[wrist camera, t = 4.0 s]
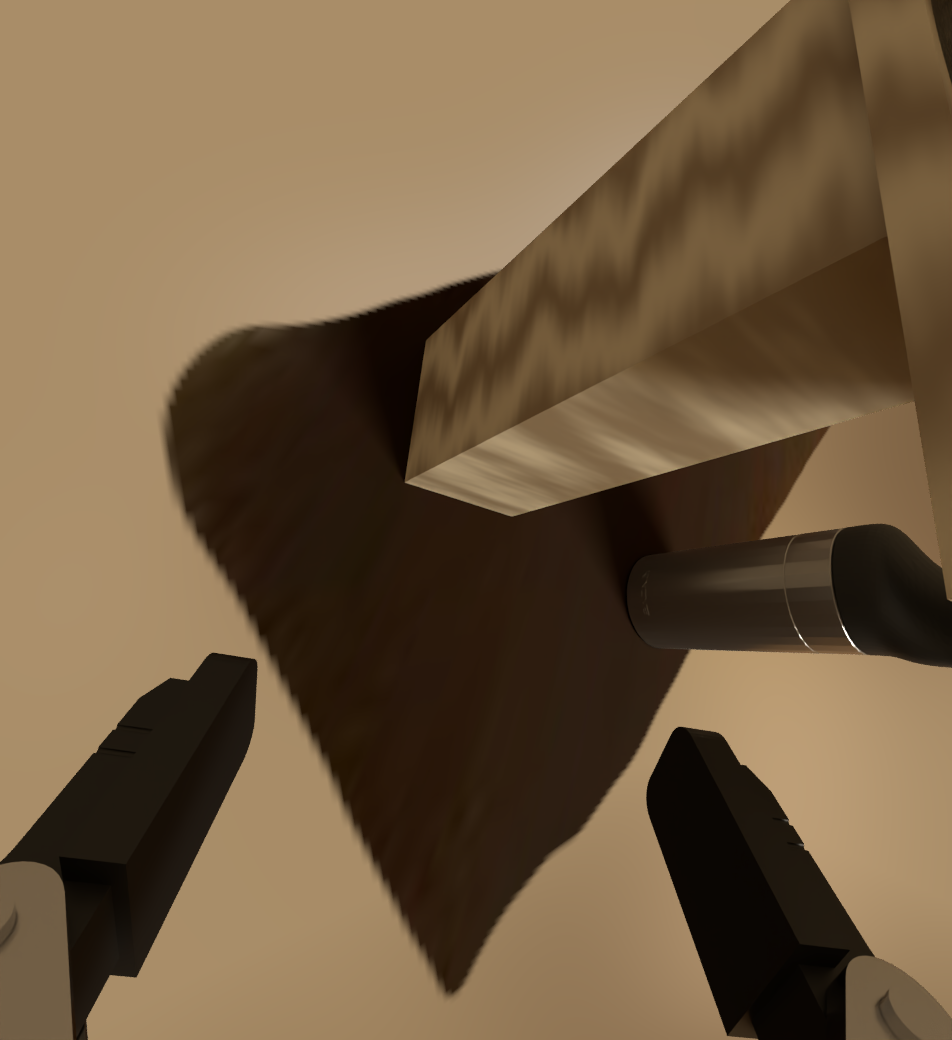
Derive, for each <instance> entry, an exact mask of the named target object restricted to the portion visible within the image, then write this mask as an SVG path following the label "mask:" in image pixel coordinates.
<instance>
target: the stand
mask: <svg viewBox="0 0 952 1040" xmlns="http://www.w3.org/2000/svg"><path fill="white" fill-rule="evenodd" d="M913 401H915V406H916V412H917V418H918V424H919V430H920V437H921V443H922V448H923V455H924V461H925V467H926V473H927V479H928V485H929V491H930V497H931V504H932V509H933V515H934V522H935V528H936V534H937V540H938V546H939V552H940V558H941V564H942V570H943V577H944V583H945V589H946V595H947V599H948V600H950V601H952V84H951V80H950V77H949V73H948V70H947V66H946V63H945V59H944V55H943V52H942V48H941V44H940V40H939V36H938V32H937V28H936V24H935V19H934V15H933V10H932V4H931V0H790V1H789V2H788V3H787V4H786V5H785V6H784V7H783V8H782V9H781V10H780V11H779V12H777V13H776V14H775V15H774V16H773V17H772V18H771V19H770V20H769V21H768V22H767V23H766V24H765V25H763V26H762V27H761V28H760V29H759V30H758V31H757V32H756V33H755V34H754V35H753V36H752V37H751V38H750V39H748V41H746V42H745V43H744V44H743V45H742V46H741V47H740V48H739V49H738V50H737V51H736V52H735V53H734V54H733V55H732V56H730V57H729V58H728V59H727V60H726V61H725V62H724V63H723V64H722V65H721V66H720V67H718V68H717V69H716V70H715V71H714V72H713V73H712V74H711V75H710V76H709V77H708V78H707V79H706V80H705V81H703V82H702V83H701V84H700V85H699V86H698V87H697V88H696V89H695V90H694V91H693V92H692V93H691V94H690V95H688V97H687V98H685V99H684V100H683V101H682V102H681V103H680V104H679V105H678V106H677V107H676V108H675V109H674V110H673V111H671V112H670V113H669V114H668V115H667V116H666V117H665V118H664V119H663V120H662V121H661V122H660V123H659V124H658V125H656V126H655V127H654V128H653V129H652V130H651V131H650V132H649V133H648V134H647V135H646V136H645V137H644V138H643V139H641V140H640V141H639V142H638V143H637V144H636V145H635V146H634V147H633V148H632V149H631V150H630V151H629V152H627V153H626V154H625V155H624V156H623V157H622V158H621V159H620V160H619V161H618V162H617V163H616V164H615V165H613V166H612V167H611V168H610V169H609V170H608V171H607V172H606V173H605V174H604V175H603V176H602V177H601V178H600V179H599V180H597V181H596V182H595V183H594V184H593V185H592V186H591V187H590V188H589V189H588V190H587V191H586V192H585V193H583V195H581V196H580V197H579V198H578V199H577V200H576V201H575V202H574V203H573V204H572V205H571V206H570V207H568V208H567V209H566V210H565V211H564V212H563V213H562V214H561V215H560V216H559V217H558V218H557V219H556V220H555V221H553V222H552V224H550V225H549V226H548V227H547V228H546V229H545V230H544V231H543V232H542V233H541V234H540V235H538V236H537V237H536V238H535V239H534V240H533V241H532V242H531V243H530V244H529V245H528V246H527V247H526V248H525V249H524V250H522V251H521V252H520V253H519V254H518V255H517V256H516V257H515V258H514V259H513V260H512V261H511V262H510V263H508V264H507V265H506V266H505V267H504V268H503V269H502V270H501V271H500V272H499V273H498V274H497V275H496V276H495V277H493V278H492V279H491V280H490V281H489V282H488V283H487V284H486V285H485V286H484V287H483V288H482V289H481V290H480V291H478V292H477V293H476V294H475V295H474V296H473V297H472V298H471V299H470V300H469V301H468V302H467V303H466V304H465V305H463V306H462V307H461V308H460V309H459V310H458V311H457V312H456V313H455V314H454V315H453V316H452V317H451V318H450V319H448V320H447V321H446V322H445V323H444V324H443V325H442V326H441V327H440V328H439V329H438V330H437V331H436V332H435V333H433V334H432V335H431V336H430V337H429V338H428V339H427V340H426V344H425V351H424V357H423V364H422V371H421V377H420V384H419V391H418V397H417V404H416V410H415V417H414V424H413V430H412V437H411V443H410V450H409V457H408V463H407V470H406V476H405V483H408V484H411V485H415V486H418V487H421V488H424V489H427V490H430V491H433V492H437V493H440V494H443V495H446V496H449V497H452V498H455V499H459V500H462V501H465V502H468V503H471V504H474V505H477V506H481V507H484V508H487V509H490V510H493V511H496V512H499V513H503V514H506V515H509V516H515V515H519V514H522V513H526V512H529V511H533V510H536V509H540V508H543V507H547V506H550V505H554V504H557V503H561V502H564V501H568V500H571V499H575V498H578V497H582V496H585V495H589V494H592V493H596V492H599V491H603V490H606V489H610V488H613V487H617V486H620V485H624V484H627V483H631V482H634V481H638V480H641V479H645V478H648V477H652V476H655V475H659V474H662V473H666V472H669V471H673V470H676V469H680V468H683V467H686V466H690V465H693V464H697V463H700V462H704V461H707V460H711V459H714V458H718V457H721V456H725V455H728V454H732V453H735V452H739V451H742V450H746V449H749V448H753V447H756V446H760V445H763V444H767V443H770V442H774V441H777V440H781V439H784V438H788V437H791V436H795V435H798V434H802V433H805V432H809V431H812V430H816V429H819V428H823V427H826V426H830V425H833V424H836V423H840V422H844V421H847V420H851V419H854V418H858V417H861V416H864V415H868V414H872V413H875V412H879V411H882V410H886V409H889V408H892V407H896V406H900V405H902V404H906V403H910V402H913Z"/></svg>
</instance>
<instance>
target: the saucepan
mask: <svg viewBox="0 0 952 1040" xmlns="http://www.w3.org/2000/svg"><path fill="white" fill-rule="evenodd" d="M931 4H932V10H933V15H934V19H935V24H936V28H937V32H938V36H939V40H940V44H941V48H942V52H943V55H944V59H945V63H946V66H947V70H948V73H949V77H950V80H951V84H952V0H931Z"/></svg>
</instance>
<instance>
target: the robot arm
mask: <svg viewBox="0 0 952 1040" xmlns="http://www.w3.org/2000/svg"><path fill="white" fill-rule="evenodd" d="M627 605H628V610H629V615H630V618H631V621H632V624H633V625H634V627H635V629H636V631H637V633H638V634H639V636H640V637H641V638H642V639H643V640H644V641H645V642H646V643H647V644H649V645H651V646H653V647H656V648H671V649H696V650H727V651H728V650H729V651H759V652H789V653H827V654H858V655H880V656H892V657H897V658H901V659H904V660H907V661H911V662H914V663H919V664H924V665H930V666H938V667H951V668H952V601H950V600H948V599H947V595H946V589H945V583H944V577H943V570H942V568H941V567H940V566H938V565H937V564H936V563H934V562H933V561H932V560H931V559H930V558H929V557H928V556H926V555H925V554H924V553H923V552H922V551H921V550H920V549H919V547H917V545H916V544H915V543H914V542H913V541H912V540H911V539H910V538H909V537H908V536H907V535H906V534H904V533H903V532H902V531H901V530H899V529H898V528H896V527H893V526H891V525H886V524H869V525H861V526H855V527H847V528H842V529H834V530H827V531H820V532H813V533H805V534H800V535H792V536H785V537H778V538H771V539H763V540H756V541H749V542H742V543H735V544H727V545H720V546H713V547H706V548H698V549H691V550H683V551H676V552H669V553H661V554H654V555H648V556H645V557H642V558H641V559H640V560H638V561H637V563H636V564H635V565H634V567H633V568H632V571H631V573H630V576H629V580H628V584H627ZM256 684H257V661H256V660H255V659H251V658H244V657H238V656H231V655H225V654H218V653H211V654H209V655H208V656H207V657H206V659H205V660H204V661H203V663H202V664H201V665H200V667H199V668H198V669H197V671H196V672H195V673H194V675H193V676H192V677H191V679H190V680H189V681H187V680H180V679H174V678H170V679H168V680H167V681H165V682H163V683H162V684H160V685H159V686H157V687H156V688H154V689H153V690H151V691H150V692H148V693H146V694H145V695H143V696H142V697H140V698H139V699H138V700H137V702H136V703H135V704H134V705H133V707H132V708H131V709H130V710H129V711H128V712H127V714H126V715H125V716H124V717H123V718H122V720H121V721H120V722H119V723H118V725H117V728H116V730H112V732H111V733H110V734H109V735H108V736H107V738H106V739H105V740H104V741H103V742H102V744H101V745H100V746H99V748H98V751H97V752H96V753H93V754H92V755H91V757H90V758H89V759H88V760H87V762H86V763H85V764H84V765H83V766H82V768H81V769H80V770H79V771H78V772H77V773H76V775H75V776H74V777H73V778H72V779H71V781H70V782H69V783H68V784H67V785H66V787H65V788H64V789H63V790H62V791H61V793H60V794H59V795H58V796H57V797H56V799H55V800H54V801H53V802H52V803H51V805H50V806H49V807H48V808H47V809H46V811H45V812H44V813H43V814H42V815H41V817H40V818H39V819H38V820H37V821H36V823H35V824H34V825H33V826H32V827H31V829H30V830H29V831H28V832H27V833H26V835H25V836H24V837H23V838H22V840H21V841H20V842H19V843H18V844H17V845H16V846H15V848H14V849H13V850H12V851H11V852H10V853H9V854H8V855H7V856H6V857H5V858H4V859H3V860H2V861H1V862H0V1040H88V1036H87V1022H86V1019H87V1017H88V1015H89V1013H90V1011H91V1009H92V1007H93V1006H94V1004H95V1002H96V1000H97V998H98V996H99V994H100V993H101V991H102V989H103V987H104V985H105V983H106V981H107V979H108V978H109V975H116V976H127V977H137V975H138V973H139V971H140V969H141V967H142V965H143V963H144V961H145V958H146V957H147V955H148V953H149V951H150V949H151V947H152V945H153V943H154V940H155V938H156V937H157V934H158V933H159V930H160V929H161V926H162V924H163V922H164V920H165V918H166V916H167V914H168V912H169V910H170V908H171V906H172V904H173V902H174V900H175V898H176V896H177V894H178V892H179V890H180V888H181V886H182V884H183V882H184V880H185V878H186V876H187V874H188V872H189V870H190V868H191V865H192V864H193V861H194V859H195V857H196V855H197V853H198V851H199V849H200V847H201V845H202V843H203V841H204V839H205V837H206V835H207V833H208V831H209V829H210V827H211V825H212V823H213V821H214V819H215V817H216V815H217V813H218V811H219V808H220V807H221V804H222V803H223V800H224V799H225V796H226V794H227V792H228V790H229V788H230V786H231V784H232V782H233V780H234V778H235V776H236V774H237V772H238V770H239V768H240V766H241V764H242V762H243V760H244V758H245V755H246V753H247V750H248V747H249V744H250V741H251V738H252V733H253V729H254V722H255V704H256ZM646 800H647V809H648V814H649V817H650V820H651V823H652V826H653V828H654V831H655V834H656V837H657V840H658V843H659V845H660V848H661V851H662V854H663V856H664V859H665V862H666V865H667V868H668V871H669V873H670V876H671V879H672V882H673V884H674V887H675V890H676V893H677V896H678V899H679V901H680V904H681V907H682V910H683V913H684V915H685V918H686V921H687V924H688V927H689V929H690V932H691V935H692V938H693V941H694V943H695V946H696V949H697V952H698V955H699V958H700V960H701V963H702V966H703V969H704V971H705V975H706V977H707V980H708V983H709V986H710V989H711V991H712V994H713V997H714V1000H715V1003H716V1005H717V1008H718V1011H719V1014H720V1017H721V1019H722V1022H723V1025H724V1028H725V1031H726V1033H727V1036H734V1037H744V1038H756V1039H758V1040H952V1019H951V1017H950V1016H949V1015H948V1014H947V1012H946V1011H945V1010H944V1008H943V1007H942V1006H941V1005H940V1004H939V1003H938V1002H937V1001H936V999H935V998H934V997H933V996H932V995H931V994H930V993H929V992H928V991H927V990H926V989H925V988H924V987H922V986H921V985H920V984H919V983H918V982H917V981H915V980H914V979H913V978H912V977H910V976H909V975H908V974H906V973H905V972H903V971H902V970H901V969H899V968H897V967H896V966H894V965H892V964H890V963H888V962H886V961H884V960H882V959H879V958H876V957H875V956H874V955H873V953H872V952H871V950H870V949H869V947H868V946H867V944H866V943H865V941H864V939H863V938H862V936H861V935H860V933H859V931H858V930H857V928H856V926H855V925H854V923H853V922H852V920H851V918H850V917H849V915H848V914H847V912H846V910H845V909H844V907H843V906H842V904H841V902H840V901H839V899H838V898H837V896H836V894H835V893H834V891H833V890H832V888H831V886H830V885H829V884H828V882H827V880H826V878H825V877H824V875H823V874H822V872H821V870H820V869H819V867H818V866H817V864H816V863H815V861H814V859H813V858H812V856H811V855H810V853H809V851H806V850H804V843H803V842H802V840H801V838H800V837H799V835H798V834H797V832H796V830H795V829H794V827H793V826H791V825H789V822H788V821H789V819H788V818H787V816H786V815H785V813H784V811H783V810H782V808H781V806H780V805H779V803H778V802H777V800H776V799H775V797H774V795H773V794H772V792H771V791H770V790H769V789H768V788H767V787H766V786H765V785H764V784H763V783H762V782H761V781H760V780H759V779H758V778H757V777H756V775H755V774H754V773H753V772H752V771H751V770H750V769H749V768H747V766H745V765H740V763H739V762H738V760H737V758H736V756H735V755H734V753H733V751H732V750H731V748H730V746H729V745H728V743H727V741H726V740H725V738H724V737H723V736H722V735H721V734H719V733H716V732H711V731H705V730H698V729H692V728H685V727H678V728H676V729H675V730H674V731H673V732H672V734H671V736H670V738H669V740H668V742H667V744H666V746H665V748H664V750H663V752H662V754H661V757H660V759H659V761H658V763H657V765H656V767H655V769H654V771H653V773H652V775H651V777H650V779H649V782H648V786H647V797H646Z"/></svg>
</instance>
